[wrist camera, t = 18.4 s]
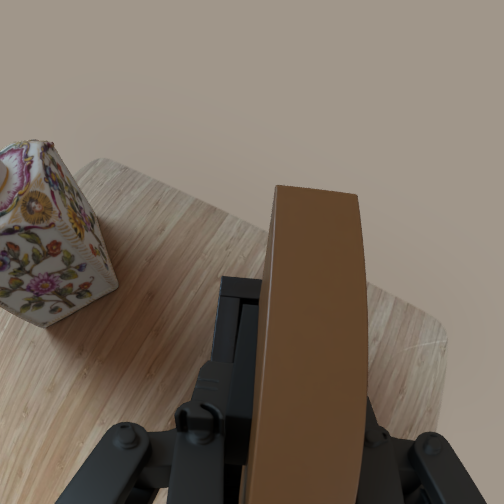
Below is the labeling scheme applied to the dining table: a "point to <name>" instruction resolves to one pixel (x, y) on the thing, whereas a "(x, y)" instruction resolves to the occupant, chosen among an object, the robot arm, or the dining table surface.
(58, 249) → the decorative jar
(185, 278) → the dining table surface
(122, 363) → the dining table surface
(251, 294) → the black open box
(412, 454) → the robot arm
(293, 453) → the thin brown wooden plank
